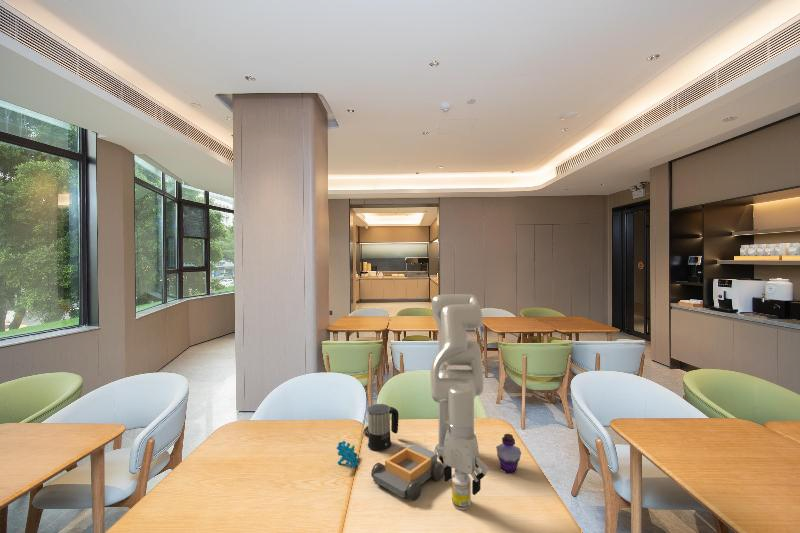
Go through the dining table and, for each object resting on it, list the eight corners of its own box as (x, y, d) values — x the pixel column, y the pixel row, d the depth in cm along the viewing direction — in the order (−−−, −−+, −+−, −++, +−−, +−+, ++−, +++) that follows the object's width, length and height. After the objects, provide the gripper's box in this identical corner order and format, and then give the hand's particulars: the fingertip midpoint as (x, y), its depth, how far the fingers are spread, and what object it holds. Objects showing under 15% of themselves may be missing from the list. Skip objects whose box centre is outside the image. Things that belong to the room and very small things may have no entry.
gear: (352, 470, 125) (335, 445, 127) (341, 481, 125) (323, 456, 128) (364, 457, 135) (347, 435, 138) (353, 467, 136) (337, 445, 139)
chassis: (408, 457, 135) (407, 439, 135) (446, 475, 124) (446, 456, 124) (369, 482, 120) (368, 463, 120) (408, 505, 109) (408, 484, 109)
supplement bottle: (458, 495, 114) (458, 463, 113) (474, 503, 110) (474, 470, 110) (448, 504, 109) (448, 471, 109) (464, 513, 106) (464, 478, 106)
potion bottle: (499, 459, 133) (499, 427, 133) (523, 466, 129) (523, 433, 129) (492, 472, 126) (492, 437, 125) (518, 479, 121) (518, 444, 121)
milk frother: (381, 454, 138) (381, 415, 137) (349, 443, 146) (349, 406, 145) (401, 438, 150) (401, 402, 149) (371, 428, 158) (370, 394, 157)
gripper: (430, 424, 112) (430, 480, 112) (481, 442, 100) (481, 504, 100) (444, 417, 117) (444, 470, 117) (493, 433, 106) (494, 491, 106)
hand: (461, 486), depth 109 cm, fingers open, 9 cm apart
